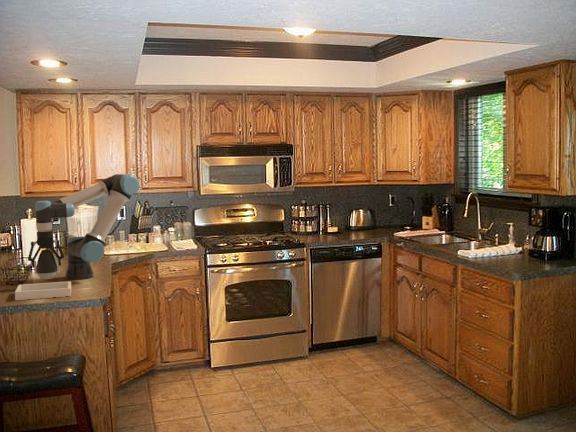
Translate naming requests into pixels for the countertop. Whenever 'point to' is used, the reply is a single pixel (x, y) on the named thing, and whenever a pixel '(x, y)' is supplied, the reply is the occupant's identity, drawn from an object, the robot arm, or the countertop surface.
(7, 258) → the countertop surface
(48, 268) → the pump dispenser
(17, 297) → the box
